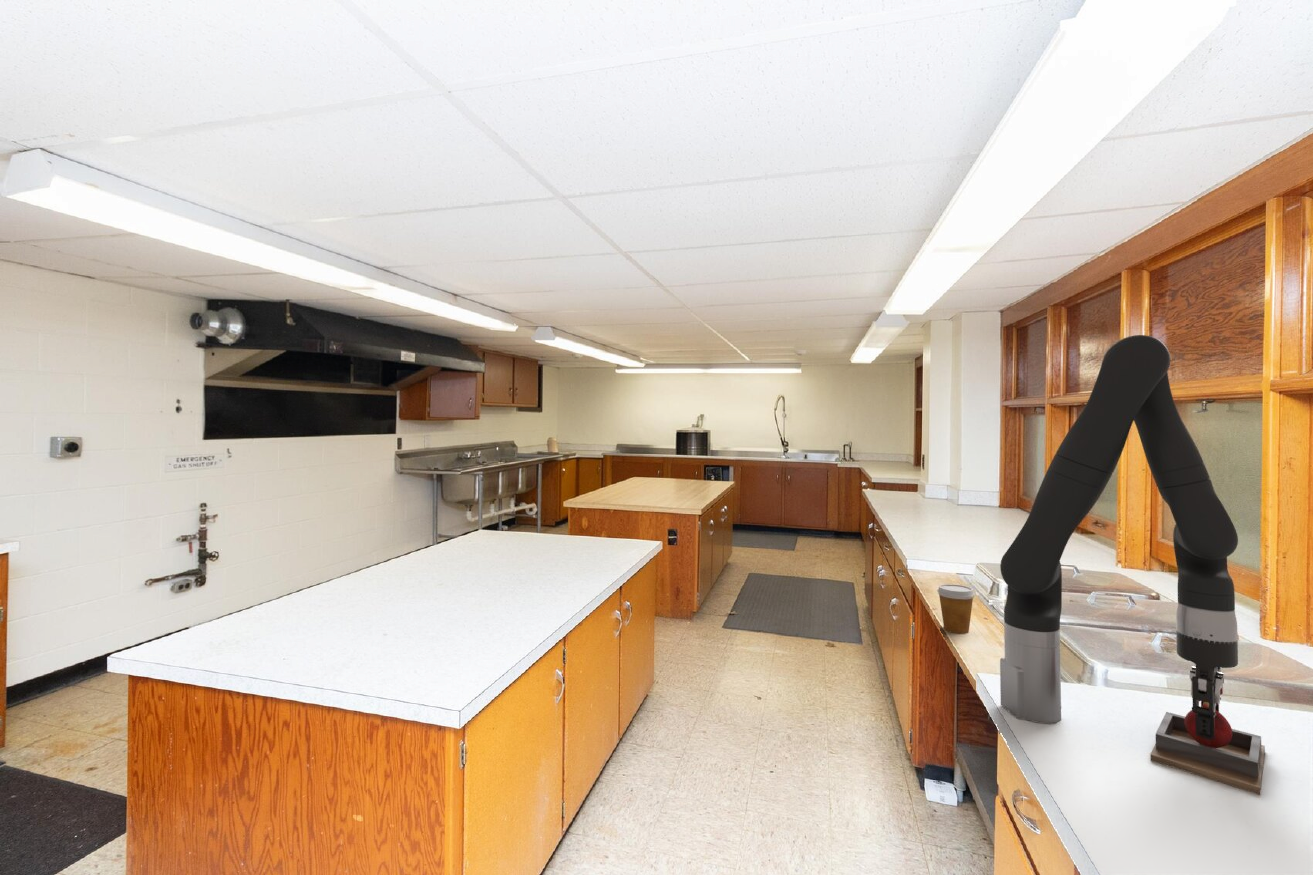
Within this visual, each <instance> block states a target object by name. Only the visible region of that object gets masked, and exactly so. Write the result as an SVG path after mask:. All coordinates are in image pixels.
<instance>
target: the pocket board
mask: <svg viewBox="0 0 1313 875" xmlns="http://www.w3.org/2000/svg"><path fill="white" fill-rule="evenodd" d="M1185 717H1186V715H1185V716H1184V715H1181V714H1176V713H1173V712H1169V711H1166V712H1165V714H1164V715H1163V718H1162V720H1161V722H1160V724H1159V726H1158V728H1157V730H1156V732H1155V743H1154V746H1153V748H1152V751H1151V752H1150V758H1149V759H1150V761H1151V762H1154V761H1155V762H1156V763H1157V764H1162V765H1165V766H1167V765H1168V766H1167V767H1171V768H1174V769H1176V770H1180V771H1184V772H1187V773H1190V774H1193V775H1196V776H1200V777H1203V778H1206V779H1210V780H1212V781H1215V782H1219V783H1222V784H1224V785H1228V786H1231V787H1235V788H1238V789H1241V790H1244V791H1248V792H1251V793H1254V794H1256V795H1257V794H1258V795H1261V790H1262V789H1261V788H1262V780H1263V772H1264V762H1265V754H1266V752H1265V751H1266V746H1265V745H1263V744H1262V736H1261V735H1257V734H1255V733H1249V732H1246V731H1242V730H1239V729H1235V728H1232V738H1231V741H1230V742H1229V743H1228V744H1227V745H1226V746H1223V747H1220V748H1212V747H1208V746H1205V745H1201V744H1199V743H1198V742H1196V741H1195V740H1194V739H1193V738H1192V737H1191V736H1190V734H1189V733H1188V731H1187V729H1186V726H1185V723H1184V722H1185ZM1155 762H1154V763H1155Z"/></svg>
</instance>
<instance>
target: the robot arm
mask: <svg viewBox="0 0 1313 875" xmlns="http://www.w3.org/2000/svg"><path fill="white" fill-rule="evenodd" d="M1171 360H1172V359H1171V354H1170V351H1169V349H1168V347H1167V346H1166V345H1165V344H1164V343H1163V342H1162V341H1161V340H1160V339H1158V338H1157V337H1154V336H1150V335H1146V334H1137V335H1135V334H1134V335H1130V336H1126V337H1124V338H1121V339H1120V340H1117V341H1115V342H1114V343H1112V344H1111V345H1110V346H1109V348H1108V349H1107V350H1106V351H1105V353H1104V355H1103V358H1102V361H1101V366H1100V369H1099V372H1098V375H1097V378H1096V380H1095V383H1094V384H1093V388H1092V391H1091V393H1090V395H1089V397H1088V399H1087V402H1086V404H1085V406H1084V408H1083V409H1082V410H1081V412H1080V414H1079V415H1078V417H1077V418H1076V420H1075V421H1074V422H1073V424H1072V426H1071V427H1070V429H1069V430H1068V432H1067V433H1066V435H1065V436H1064V438H1063V440H1062V441H1061V442H1060V445H1059V446H1058V448H1057V450H1056V453H1055V454H1054V456H1053V458H1052V460H1051V462H1050V464H1049V466H1048V468H1047V469H1046V473H1045V475H1044V477H1043V479H1042V481H1041V484H1040V487H1039V489H1038V491H1037V493H1036V496H1035V499H1034V502H1033V503H1032V504H1033V505H1032V507H1031V510H1030V512H1029V514H1028V517H1027V519H1026V520H1025V523H1024V525H1023V526H1022V527H1021V529H1020V530H1019V532H1018V534H1017V535H1016V537H1015V539H1014V540H1013V541H1012V542H1011V544H1010V546H1009V547H1008V548H1007V550H1006V552H1004V554H1003V555H1002V557H1001V561H1000V563H999V565H1000V566H999V567H1000V569H999V570H1000V574H1001V577H1002V579H1003V581H1004V582H1005V584H1006V585H1007V595H1006V601H1005V605H1004V608H1003V609H1004V610H1003V619H1004V620H1003V621H1004V622H1003V624H1004V625H1003V626H1004V636H1003V638H1004V642H1003V643H1004V657H1001V658H1000V659H999V674H1000V675H999V676H1000V678H999V681H1000V685H999V687H1000V689H999V690H1000V706H1002V707H1003V708H1005V709H1006V710H1007V711H1008V712H1009V713H1010V714H1011V715H1013V716H1014V717H1016V719H1018V720H1019V719H1020V720H1026V721H1030V722H1035V723H1041V724H1042V723H1043V724H1053V723H1057V722H1061V720H1062V691H1061V690H1062V688H1061V687H1062V686H1061V684H1062V683H1061V681H1062V680H1061V678H1062V677H1061V675H1062V674H1061V615H1062V609H1063V608H1062V607H1063V606H1062V604H1063V602H1062V600H1063V598H1062V597H1063V596H1062V595H1063V594H1062V592H1063V589H1062V587H1063V581H1062V580H1063V577H1062V576H1063V573H1062V565H1061V564H1062V563H1061V558H1062V556H1063V553H1064V551H1065V549H1066V546H1067V544H1068V543H1069V540H1070V538H1071V536H1072V535H1073V534H1074V532H1075V531H1076V529H1077V528H1078V526H1080V524H1081V523H1082V522H1083V521H1084V519H1085V518H1086V517H1087V515H1088V514H1089V513H1090V512H1091V510H1092V509H1093V507H1094V506H1095V504H1096V503H1097V501H1098V500H1099V498H1100V497H1101V495H1102V494H1103V493H1104V491H1105V488H1106V487H1107V485H1108V483H1109V481H1110V479H1111V477H1112V476H1113V473H1114V472H1115V469H1116V467H1117V465H1118V463H1119V461H1120V458H1121V456H1122V453H1123V451H1124V448H1125V445H1126V443H1127V439H1128V436H1129V434H1130V432H1131V431H1130V430H1131V427H1132V426H1133V423H1134V424H1135V427H1136V430H1137V433H1138V436H1139V439H1140V442H1141V445H1142V449H1143V453H1144V455H1145V458H1146V462H1147V464H1148V467H1149V470H1150V472H1151V474H1152V475H1151V476H1152V477H1153V481H1154V483H1155V484H1156V487H1157V490H1158V492H1159V494H1160V496H1161V497H1162V498H1161V499H1163V501H1164V502H1165V503H1166V504H1167V505H1168V508H1169V509H1170V512H1171V514H1172V517H1173V519H1174V522H1175V525H1174V526H1173V530H1172V531H1173V534H1172V540H1173V541H1172V543H1173V552H1174V557H1175V562H1176V567H1177V575H1178V576H1177V607H1176V614H1175V621H1176V622H1175V626H1176V627H1175V629H1176V630H1175V632H1176V635H1175V636H1176V639H1175V640H1176V654H1177V655H1178V656H1179V657H1180V658H1182V659H1183V660H1185V661H1188V662H1191V663H1193V664H1194V665H1195V666H1191V670H1189V679H1190V682H1191V684H1190V696H1191V698H1192V706H1191V710H1193V713H1196V735H1197V736H1199V737H1201V738H1205V739H1209V740H1214V738H1215V722H1214V718H1215V716H1216V713H1215V710H1217V711H1218V712H1219V713H1220V704H1221V701H1222V696H1221V695H1223V693H1224V683H1225V673H1224V672H1221V668H1222V669H1230V668H1235V667H1237V666H1238V664H1239V646H1238V644H1239V640H1238V636H1239V635H1238V621H1237V617H1236V615H1237V614H1236V610H1235V609H1236V601H1235V600H1236V598H1235V597H1236V596H1235V595H1236V594H1235V585H1234V581H1233V579H1232V576H1230V573H1229V571H1228V557H1229V556H1231V555H1232V554H1234V552H1235V551H1236V549H1237V547H1238V544H1239V537H1238V533H1237V532H1238V531H1237V530H1236V528H1235V524H1234V523H1233V521H1232V519H1231V517H1230V516H1229V515H1230V514H1228V512H1227V510H1226V508H1225V507H1224V504H1223V503H1222V501H1221V500H1220V498H1219V497H1218V495H1217V493H1216V492H1215V489H1214V485H1213V482H1212V480H1211V476H1210V474H1209V472H1208V469H1207V467H1206V464H1205V462H1204V460H1203V458H1202V456H1201V454H1200V451H1199V449H1198V446H1197V445H1196V443H1195V441H1194V439H1193V438H1192V437H1193V436H1192V435H1191V433H1190V432H1189V431H1188V428H1187V426H1186V424H1185V423H1184V421H1183V419H1182V417H1181V415H1180V412H1179V411H1178V408H1177V405H1176V404H1175V400H1174V397H1173V394H1172V390H1171V385H1170V384H1171V383H1170V381H1169V380H1170V379H1169V373H1168V371H1169V368H1170V366H1171ZM1203 702H1208V703H1209V709H1208V708H1204V707H1201V706H1202V705H1203Z"/></svg>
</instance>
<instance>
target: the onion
mask: <svg viewBox="0 0 1313 875" xmlns="http://www.w3.org/2000/svg"><path fill="white" fill-rule="evenodd" d="M1200 707H1204V708H1208V709H1209V703H1208V702H1203V705H1202V706H1201V705H1200ZM1215 713H1216V716H1215V718H1214V722H1215V738H1214V740H1209V739H1205V738H1201V737H1199V736H1197V735H1196V713H1193V710H1192V709H1191V710H1190V711H1188V712H1187V713H1186V715H1185V722H1184V723H1185V726H1186V729H1187V731H1188V733H1189V734H1190V736H1191V737H1192V738H1193V739H1194V740H1195V741H1196V742H1198V743H1199V744H1201V745H1205V746H1208V747H1212V748H1220V747H1223V746H1226V745H1227V744H1228V743H1229V742H1230V741H1231V738H1232V729H1233V728H1232V726H1231V724H1230V722H1229V721H1228V719H1226V717H1225V716H1224V715H1223V714H1222V713H1221V712H1220V711H1219V712H1218V711H1217V710H1215Z"/></svg>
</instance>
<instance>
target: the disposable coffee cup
mask: <svg viewBox="0 0 1313 875" xmlns="http://www.w3.org/2000/svg"><path fill="white" fill-rule="evenodd" d="M936 591H937V594H938V596H939V603H940V610H941V617H942V623H943V624H942V625H943V629H944V630H945V631H947V632H950V633H956V634H968V633H969V631H970V625H971V616H972V609H973V601H974V600H973V599H974V598H975V595H976V593H975V592H974V589H973V588H972V587H970V586H967V585H962V584H950V583H947V584H940V585H939V586H938V589H937V590H936Z"/></svg>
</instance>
